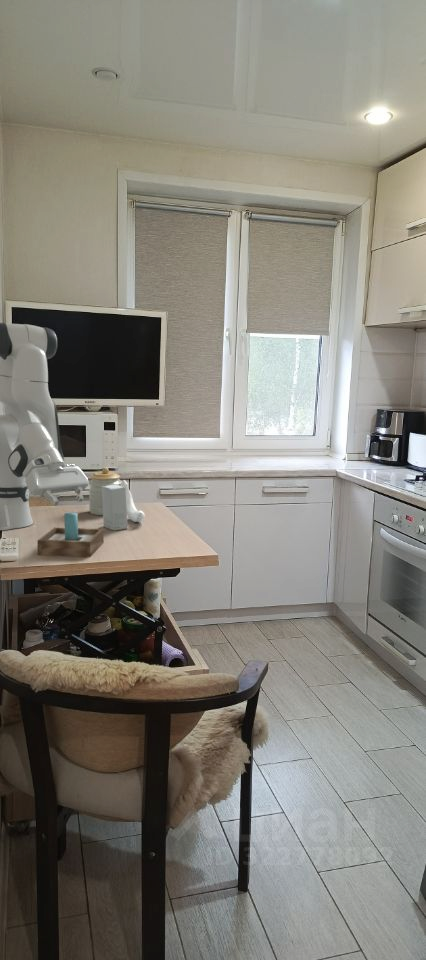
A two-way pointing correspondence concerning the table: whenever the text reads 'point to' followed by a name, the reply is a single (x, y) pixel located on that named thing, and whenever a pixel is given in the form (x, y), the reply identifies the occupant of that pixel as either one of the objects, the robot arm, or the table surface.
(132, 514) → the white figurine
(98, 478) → the jar
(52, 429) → the robot arm
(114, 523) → the skincare box
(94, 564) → the table surface
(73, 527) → the teal rectangular block
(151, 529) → the table surface
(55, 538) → the peg box
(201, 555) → the table surface
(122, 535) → the table surface
